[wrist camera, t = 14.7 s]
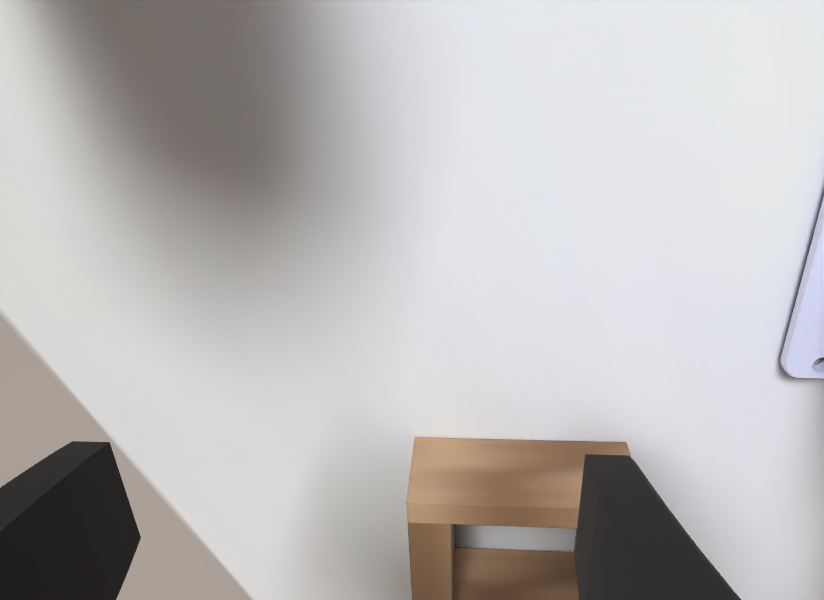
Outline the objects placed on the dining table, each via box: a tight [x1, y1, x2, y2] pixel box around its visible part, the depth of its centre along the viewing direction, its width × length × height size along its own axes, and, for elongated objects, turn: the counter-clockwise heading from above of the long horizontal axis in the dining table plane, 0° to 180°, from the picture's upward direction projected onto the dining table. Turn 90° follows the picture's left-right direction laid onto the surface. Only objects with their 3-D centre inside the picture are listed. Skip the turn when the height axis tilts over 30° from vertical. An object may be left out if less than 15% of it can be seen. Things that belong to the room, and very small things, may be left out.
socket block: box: [407, 438, 631, 600], centre depth 23 cm, size 7×11×3 cm, turn 2°
